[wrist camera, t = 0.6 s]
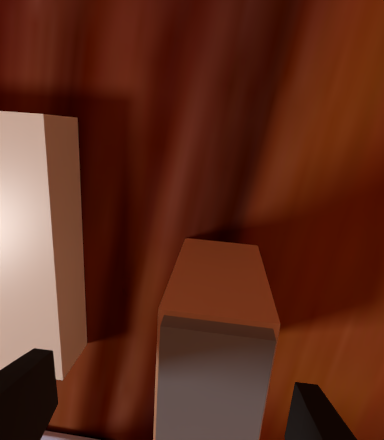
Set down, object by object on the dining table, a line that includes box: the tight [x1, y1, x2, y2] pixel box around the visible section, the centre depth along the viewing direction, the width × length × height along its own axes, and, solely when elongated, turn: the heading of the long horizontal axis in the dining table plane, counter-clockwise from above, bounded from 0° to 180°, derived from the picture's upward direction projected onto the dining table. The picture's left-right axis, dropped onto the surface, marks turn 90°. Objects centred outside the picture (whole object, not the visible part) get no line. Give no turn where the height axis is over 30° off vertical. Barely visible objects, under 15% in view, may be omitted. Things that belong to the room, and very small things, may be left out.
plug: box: [153, 238, 280, 440], centre depth 14 cm, size 6×4×8 cm, turn 176°
